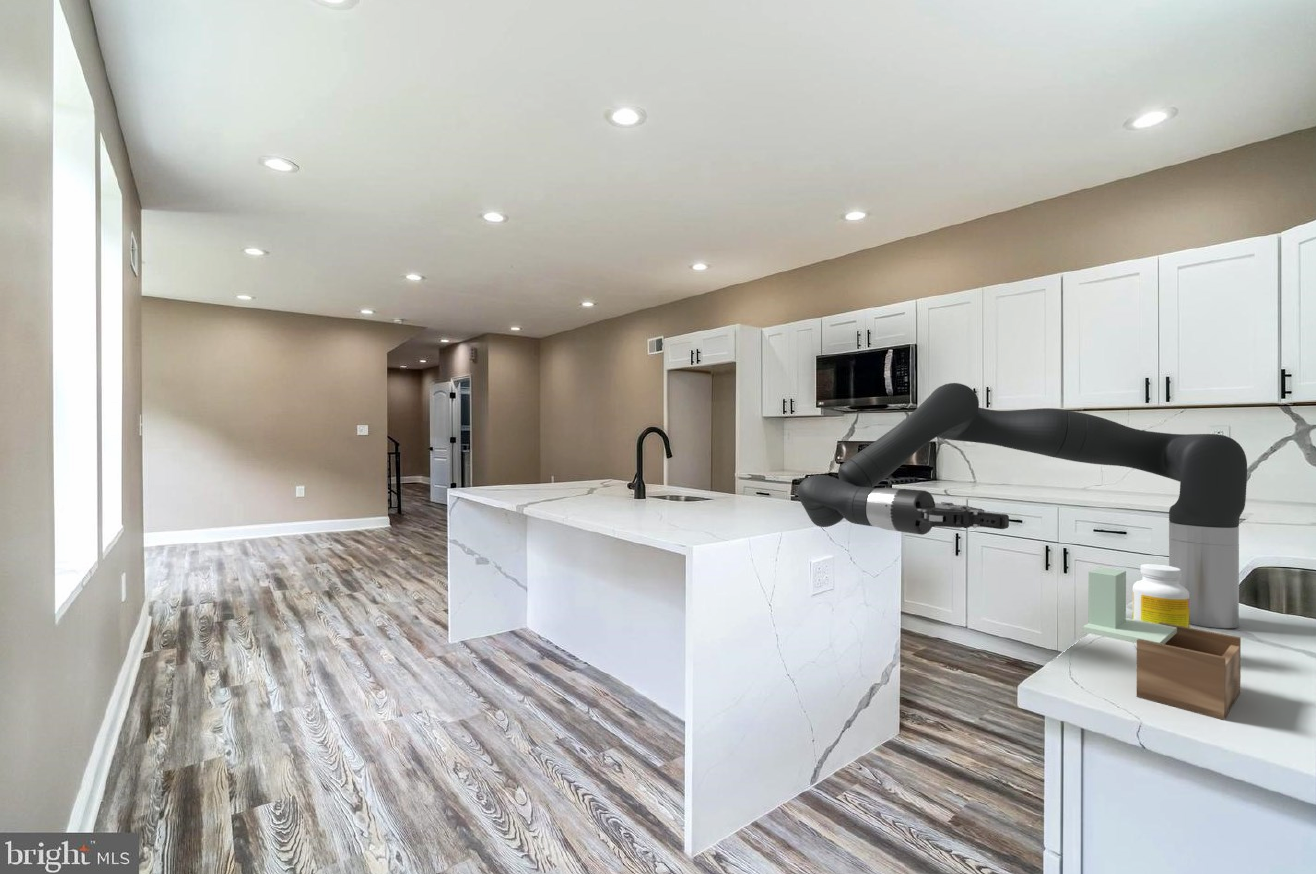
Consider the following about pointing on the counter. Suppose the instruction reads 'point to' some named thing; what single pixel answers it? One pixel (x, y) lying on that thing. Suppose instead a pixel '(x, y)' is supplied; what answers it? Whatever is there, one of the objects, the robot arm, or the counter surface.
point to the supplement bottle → (1160, 596)
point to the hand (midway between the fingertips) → (1006, 522)
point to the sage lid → (1118, 611)
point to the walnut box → (1191, 671)
